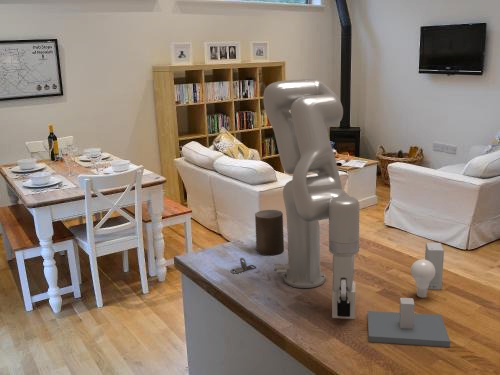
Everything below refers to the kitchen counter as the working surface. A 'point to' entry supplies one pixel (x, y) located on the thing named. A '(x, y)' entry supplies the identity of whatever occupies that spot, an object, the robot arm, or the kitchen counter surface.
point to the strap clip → (244, 267)
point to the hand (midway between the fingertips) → (343, 307)
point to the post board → (407, 336)
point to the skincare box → (435, 263)
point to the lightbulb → (422, 275)
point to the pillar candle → (269, 232)
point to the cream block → (351, 300)
